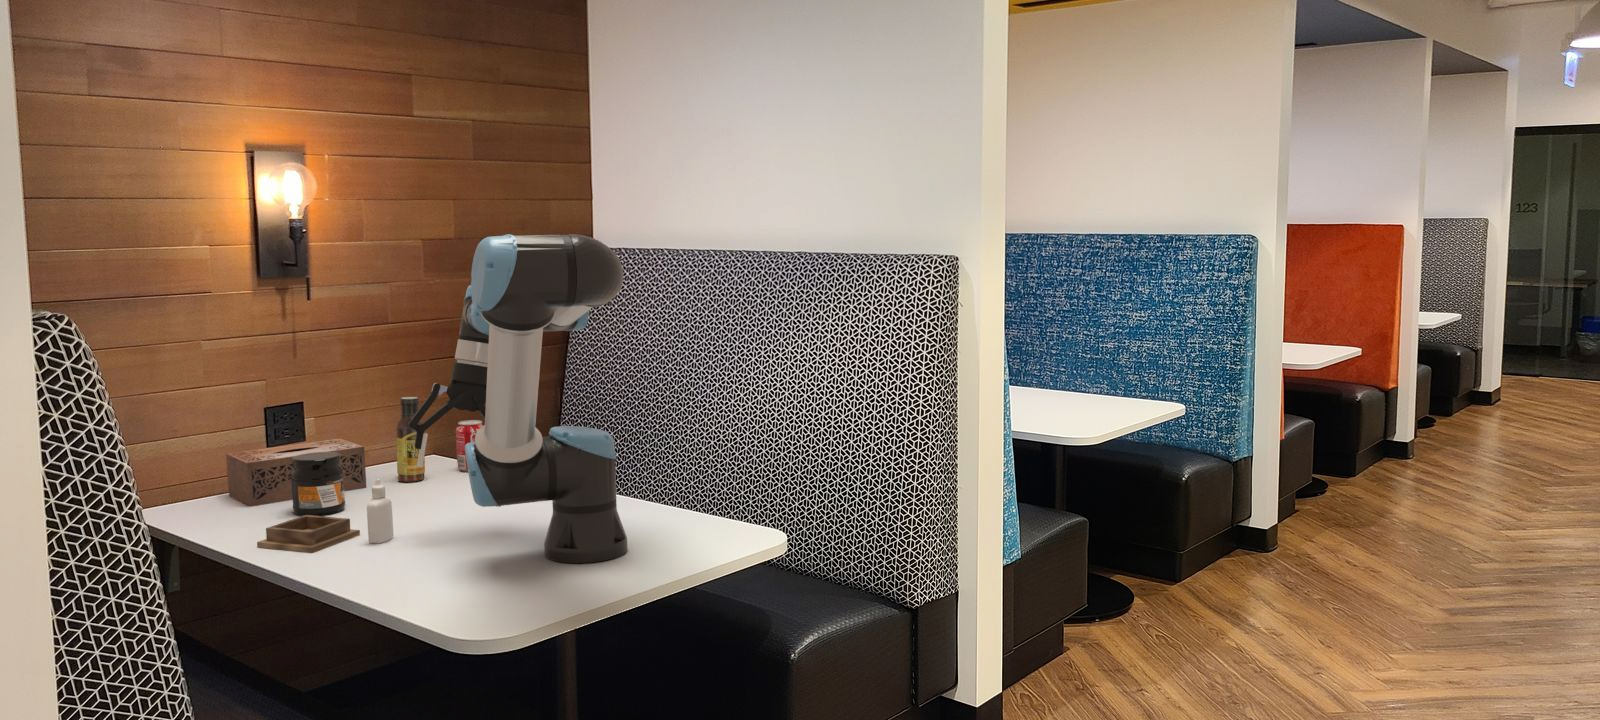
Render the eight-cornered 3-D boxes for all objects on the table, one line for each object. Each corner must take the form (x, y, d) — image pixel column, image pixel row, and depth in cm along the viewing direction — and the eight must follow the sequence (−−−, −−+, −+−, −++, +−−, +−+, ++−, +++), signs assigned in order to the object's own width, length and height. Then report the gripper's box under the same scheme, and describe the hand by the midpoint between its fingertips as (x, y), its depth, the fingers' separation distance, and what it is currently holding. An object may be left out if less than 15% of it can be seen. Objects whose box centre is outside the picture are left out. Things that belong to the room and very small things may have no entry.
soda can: (491, 466, 295) (489, 419, 293) (480, 472, 288) (478, 424, 286) (463, 466, 295) (461, 419, 294) (452, 472, 288) (450, 424, 287)
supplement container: (334, 517, 246) (331, 460, 245) (284, 517, 246) (280, 461, 245) (353, 504, 257) (350, 450, 255) (305, 505, 257) (301, 451, 255)
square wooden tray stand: (359, 535, 231) (358, 517, 231) (312, 552, 219) (311, 534, 219) (306, 530, 236) (305, 513, 235) (257, 547, 223) (256, 529, 223)
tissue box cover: (249, 508, 256) (246, 462, 255) (229, 497, 266) (225, 453, 265) (366, 488, 273) (364, 446, 272) (342, 479, 284) (340, 438, 282)
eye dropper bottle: (361, 541, 227) (358, 480, 225) (388, 535, 231) (385, 475, 230) (373, 545, 224) (370, 483, 223) (400, 539, 228) (397, 478, 227)
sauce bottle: (409, 484, 276) (405, 400, 274) (392, 481, 279) (387, 398, 277) (431, 478, 282) (427, 396, 279) (414, 476, 285) (410, 395, 283)
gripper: (533, 373, 239) (516, 476, 238) (406, 353, 230) (387, 461, 229) (540, 374, 232) (522, 480, 231) (409, 353, 223) (390, 464, 222)
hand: (455, 471), depth 230 cm, fingers open, 13 cm apart
